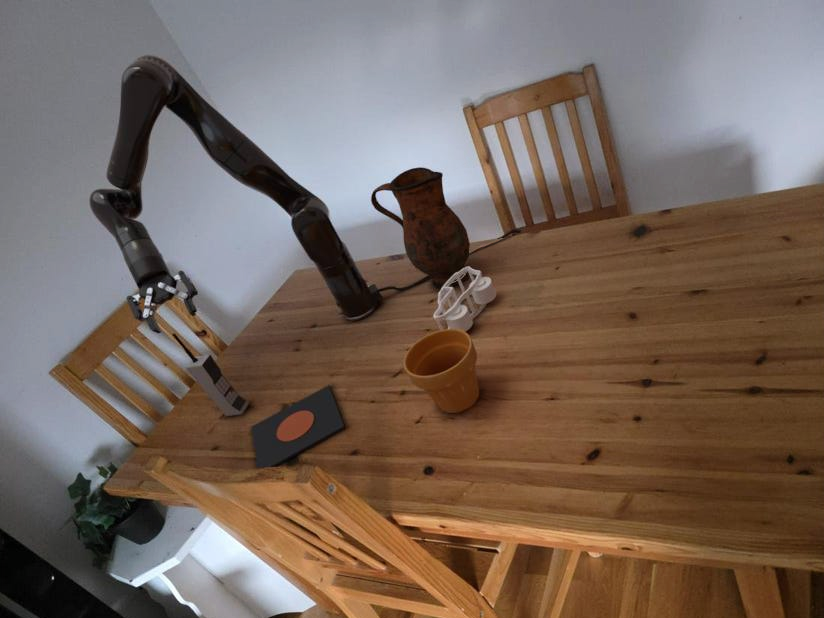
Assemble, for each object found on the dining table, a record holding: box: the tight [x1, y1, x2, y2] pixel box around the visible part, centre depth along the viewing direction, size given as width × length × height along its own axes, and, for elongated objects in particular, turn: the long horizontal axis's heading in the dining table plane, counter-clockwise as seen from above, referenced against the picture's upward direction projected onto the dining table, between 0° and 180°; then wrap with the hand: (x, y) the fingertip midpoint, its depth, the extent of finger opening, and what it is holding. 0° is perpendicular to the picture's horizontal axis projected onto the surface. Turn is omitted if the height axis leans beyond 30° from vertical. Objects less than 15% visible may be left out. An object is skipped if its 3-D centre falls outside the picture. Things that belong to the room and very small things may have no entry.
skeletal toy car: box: [433, 265, 497, 332], centre depth 144 cm, size 20×11×7 cm, turn 147°
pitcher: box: [370, 166, 471, 290], centre depth 154 cm, size 17×21×30 cm
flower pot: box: [403, 328, 480, 414], centre depth 120 cm, size 14×14×13 cm
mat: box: [251, 384, 346, 469], centre depth 133 cm, size 20×17×1 cm
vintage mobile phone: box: [171, 332, 250, 417], centre depth 139 cm, size 4×5×25 cm
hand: (176, 323), depth 136 cm, fingers open, 8 cm apart
